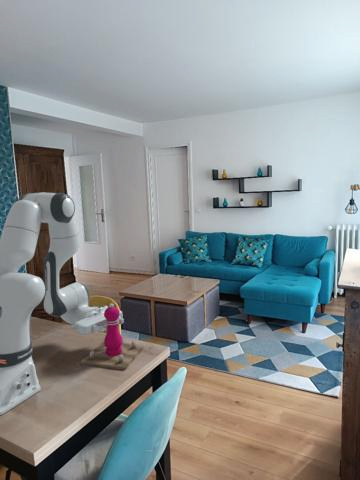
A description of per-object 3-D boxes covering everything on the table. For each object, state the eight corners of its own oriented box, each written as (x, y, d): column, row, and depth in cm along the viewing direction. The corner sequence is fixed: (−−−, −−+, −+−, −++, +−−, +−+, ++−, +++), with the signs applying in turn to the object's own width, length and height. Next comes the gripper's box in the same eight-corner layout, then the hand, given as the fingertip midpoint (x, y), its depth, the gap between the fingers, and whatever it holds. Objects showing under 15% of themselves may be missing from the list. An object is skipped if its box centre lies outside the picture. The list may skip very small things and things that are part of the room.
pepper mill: (125, 348, 139) (122, 300, 136) (120, 357, 132) (117, 306, 129) (107, 348, 139) (105, 300, 137) (102, 356, 132) (99, 306, 130)
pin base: (125, 369, 124) (124, 360, 124) (81, 364, 129) (80, 354, 129) (143, 348, 142) (143, 339, 141) (104, 343, 146) (103, 335, 146)
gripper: (68, 318, 132) (92, 326, 124) (108, 304, 149) (131, 310, 141) (69, 334, 133) (93, 342, 125) (108, 318, 150) (132, 324, 142)
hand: (113, 325), depth 133 cm, fingers open, 8 cm apart
